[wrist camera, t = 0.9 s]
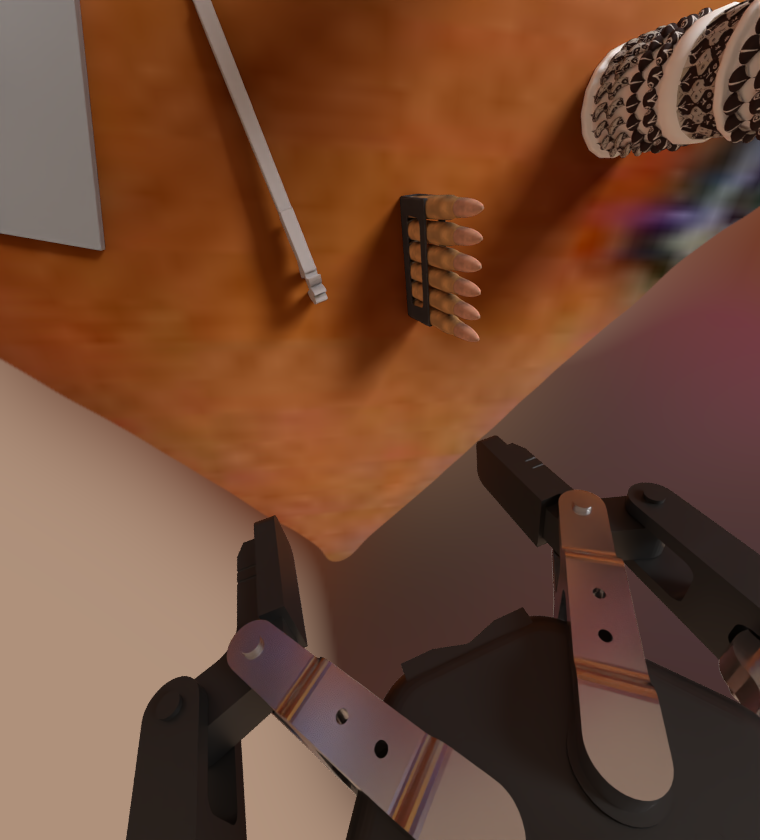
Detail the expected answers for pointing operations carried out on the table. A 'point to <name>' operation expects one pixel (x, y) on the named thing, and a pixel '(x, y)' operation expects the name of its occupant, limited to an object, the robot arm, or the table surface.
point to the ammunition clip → (439, 261)
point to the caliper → (260, 147)
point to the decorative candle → (678, 85)
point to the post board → (47, 126)
